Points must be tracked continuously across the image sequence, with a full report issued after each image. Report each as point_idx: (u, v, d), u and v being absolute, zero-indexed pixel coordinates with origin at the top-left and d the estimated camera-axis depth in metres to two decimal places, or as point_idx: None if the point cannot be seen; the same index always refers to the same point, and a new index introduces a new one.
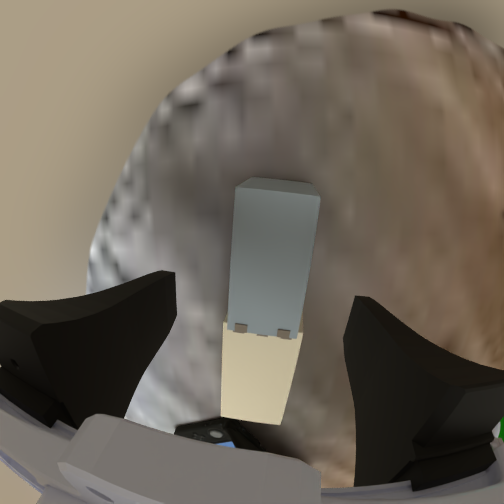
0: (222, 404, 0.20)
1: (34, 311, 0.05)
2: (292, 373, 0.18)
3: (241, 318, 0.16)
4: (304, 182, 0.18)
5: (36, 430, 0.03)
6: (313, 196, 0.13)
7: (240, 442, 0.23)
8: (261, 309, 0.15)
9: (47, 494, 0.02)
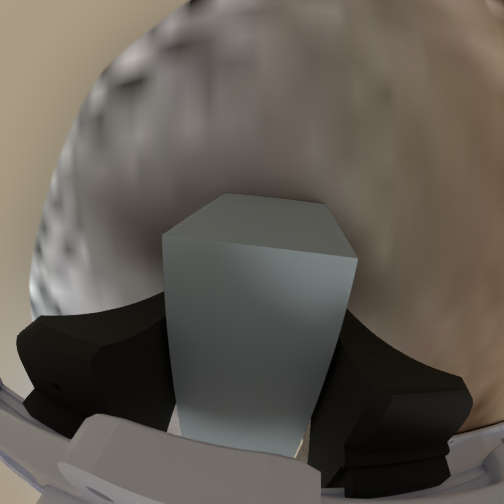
0: None
1: (81, 329, 0.05)
2: None
3: (203, 438, 0.08)
4: (313, 202, 0.11)
5: (36, 430, 0.03)
6: (341, 258, 0.05)
7: None
8: (233, 433, 0.08)
9: (47, 494, 0.02)
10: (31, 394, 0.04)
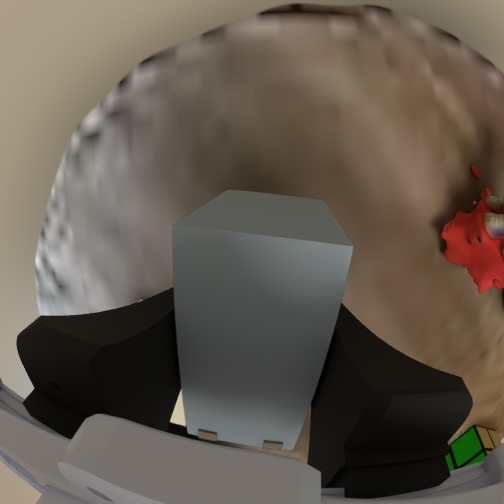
0: None
1: (81, 329, 0.05)
2: None
3: (206, 425, 0.09)
4: (312, 199, 0.11)
5: (36, 430, 0.03)
6: (338, 246, 0.06)
7: None
8: (236, 419, 0.08)
9: (47, 494, 0.02)
10: (32, 394, 0.04)
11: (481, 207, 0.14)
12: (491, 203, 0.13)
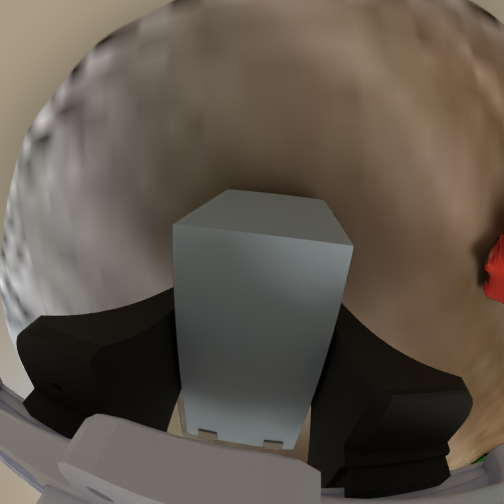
0: None
1: (81, 329, 0.05)
2: None
3: (206, 425, 0.09)
4: (312, 198, 0.11)
5: (36, 430, 0.03)
6: (338, 245, 0.06)
7: None
8: (236, 419, 0.08)
9: (47, 494, 0.02)
10: (32, 394, 0.04)
11: None
12: None
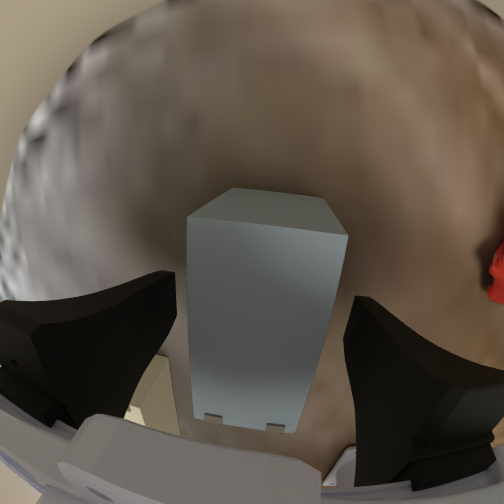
0: None
1: (34, 311, 0.05)
2: None
3: (212, 408, 0.09)
4: (311, 196, 0.12)
5: (36, 430, 0.03)
6: (334, 235, 0.07)
7: None
8: (241, 402, 0.09)
9: (47, 494, 0.02)
10: None
11: None
12: None
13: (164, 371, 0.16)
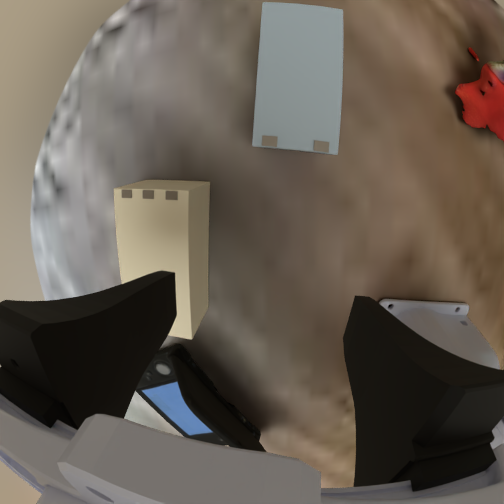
0: None
1: (34, 311, 0.05)
2: (186, 251, 0.17)
3: (270, 128, 0.12)
4: None
5: (36, 430, 0.03)
6: (336, 9, 0.10)
7: (183, 369, 0.21)
8: (293, 114, 0.12)
9: (47, 494, 0.02)
10: None
11: None
12: None
13: (206, 190, 0.19)
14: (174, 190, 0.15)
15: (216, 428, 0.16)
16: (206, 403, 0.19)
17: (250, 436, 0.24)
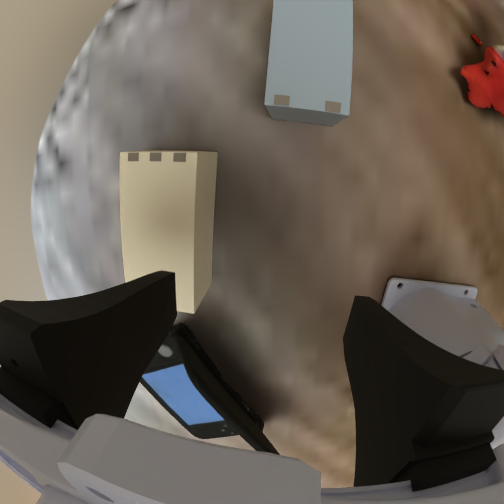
0: (126, 278, 0.18)
1: (34, 311, 0.05)
2: (192, 215, 0.16)
3: (282, 88, 0.12)
4: None
5: (36, 430, 0.03)
6: None
7: (187, 348, 0.20)
8: (305, 76, 0.11)
9: (47, 494, 0.02)
10: None
11: None
12: None
13: (214, 159, 0.18)
14: (182, 152, 0.15)
15: (223, 410, 0.16)
16: (212, 384, 0.18)
17: (254, 425, 0.23)
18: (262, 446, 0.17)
